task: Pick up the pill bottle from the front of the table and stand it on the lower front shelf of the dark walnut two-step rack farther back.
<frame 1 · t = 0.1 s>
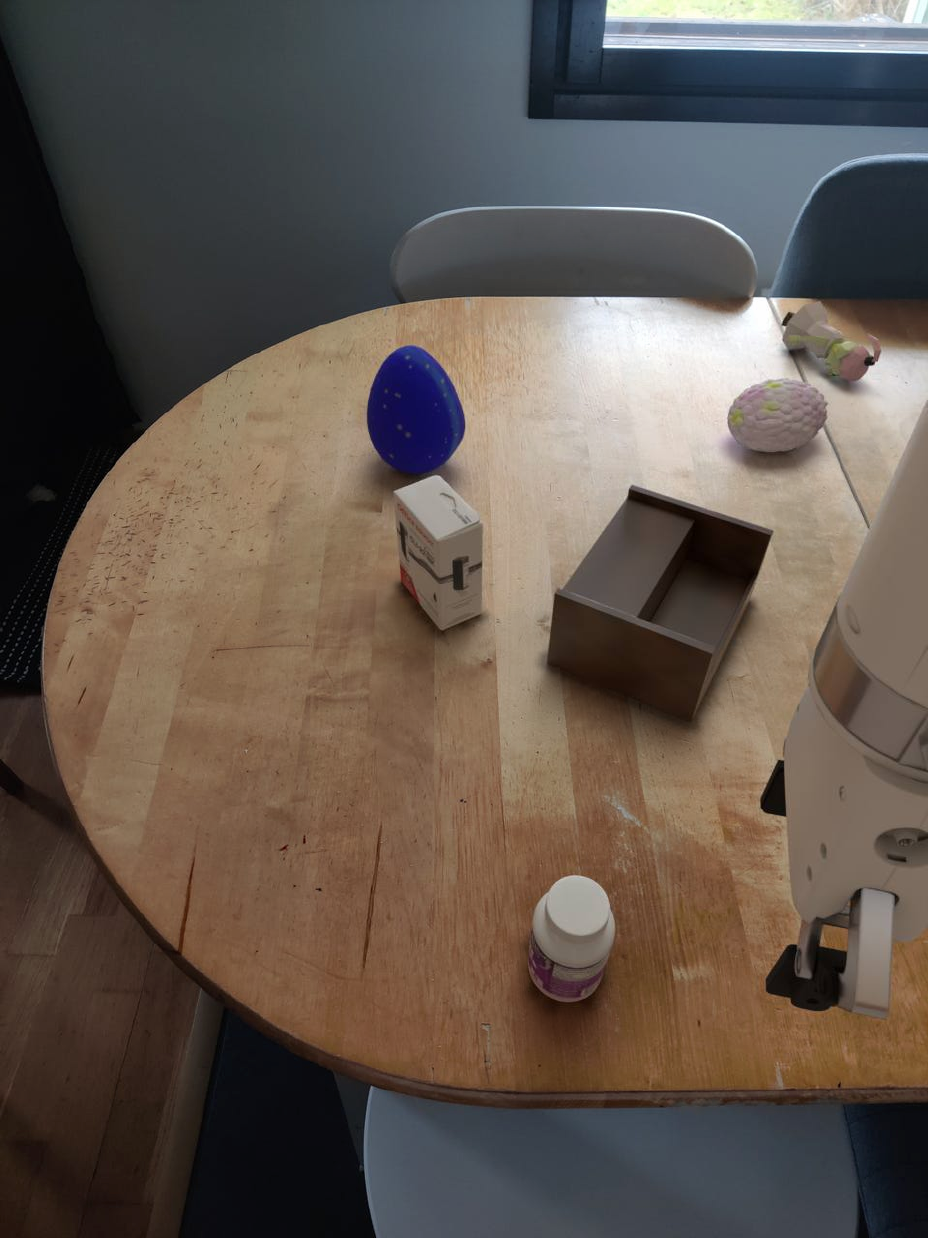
hand: (794, 896, 42), 20 cm above the table, tool pointing down, fingers open, 9 cm apart
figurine: (816, 366, 117), on the table
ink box: (440, 598, 86), on the table
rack: (652, 629, 82), on the table
decorative item: (768, 442, 105), on the table
pill bottle: (564, 967, 60), on the table
ornament: (415, 466, 101), on the table
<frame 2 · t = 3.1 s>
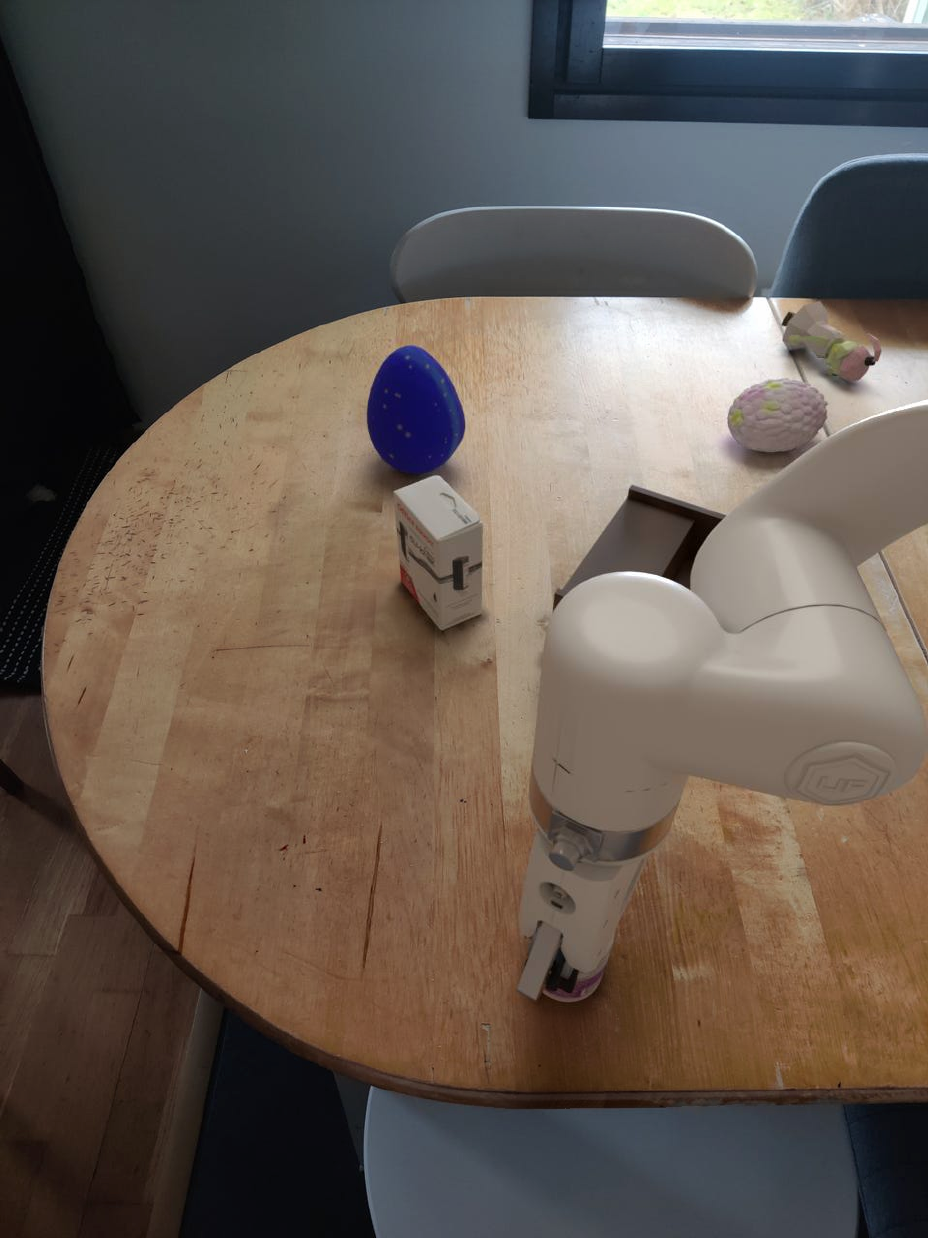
hand: (571, 936, 56), 5 cm above the table, tool pointing down, fingers closed on pill bottle, 5 cm apart
pill bottle: (564, 967, 60), on the table, touching gripper
everything else where it was.
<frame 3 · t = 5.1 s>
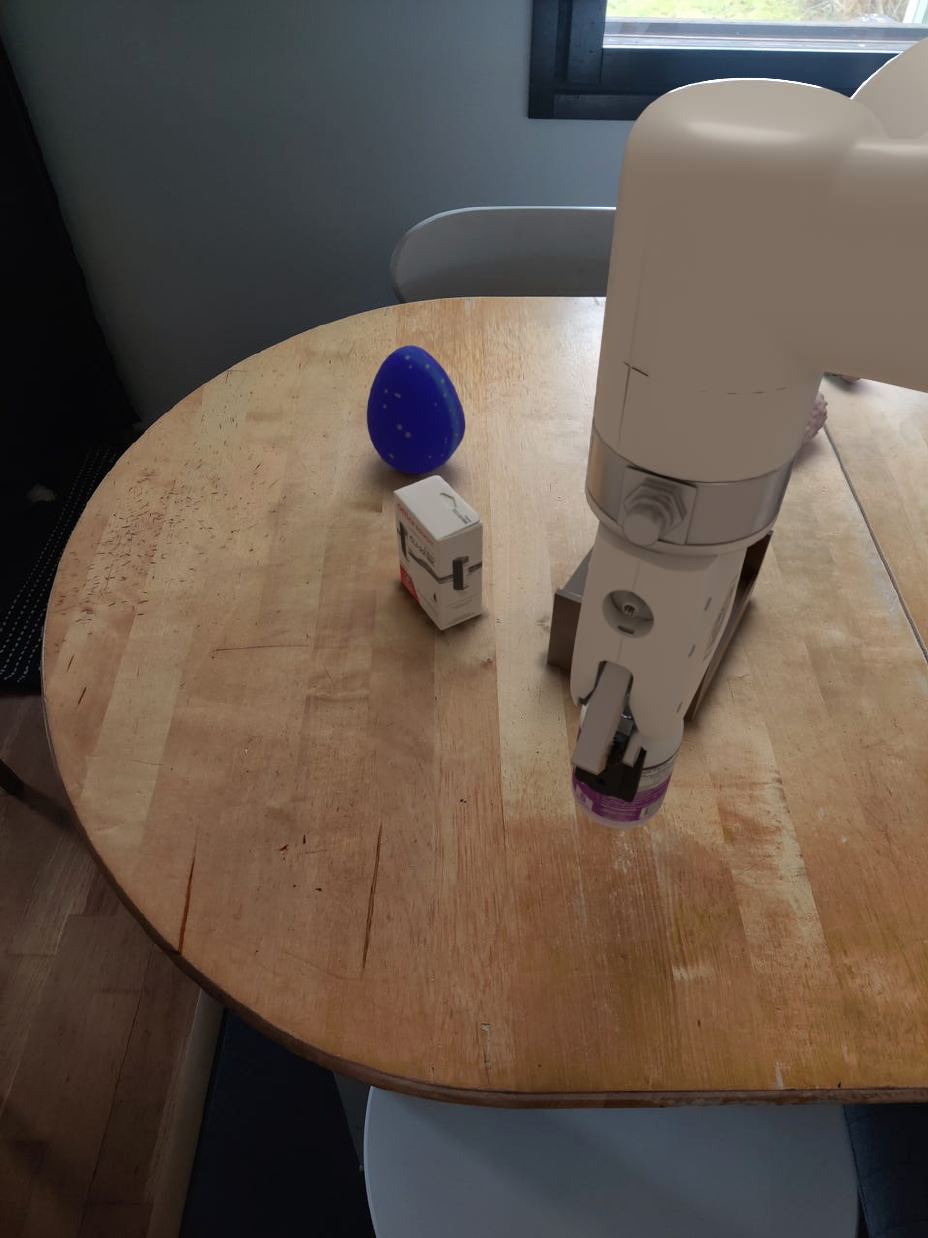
hand: (627, 741, 46), 23 cm above the table, tool pointing down, fingers closed on pill bottle, 5 cm apart
pill bottle: (615, 794, 49), point 18 cm above the table, touching gripper
everything else where it was.
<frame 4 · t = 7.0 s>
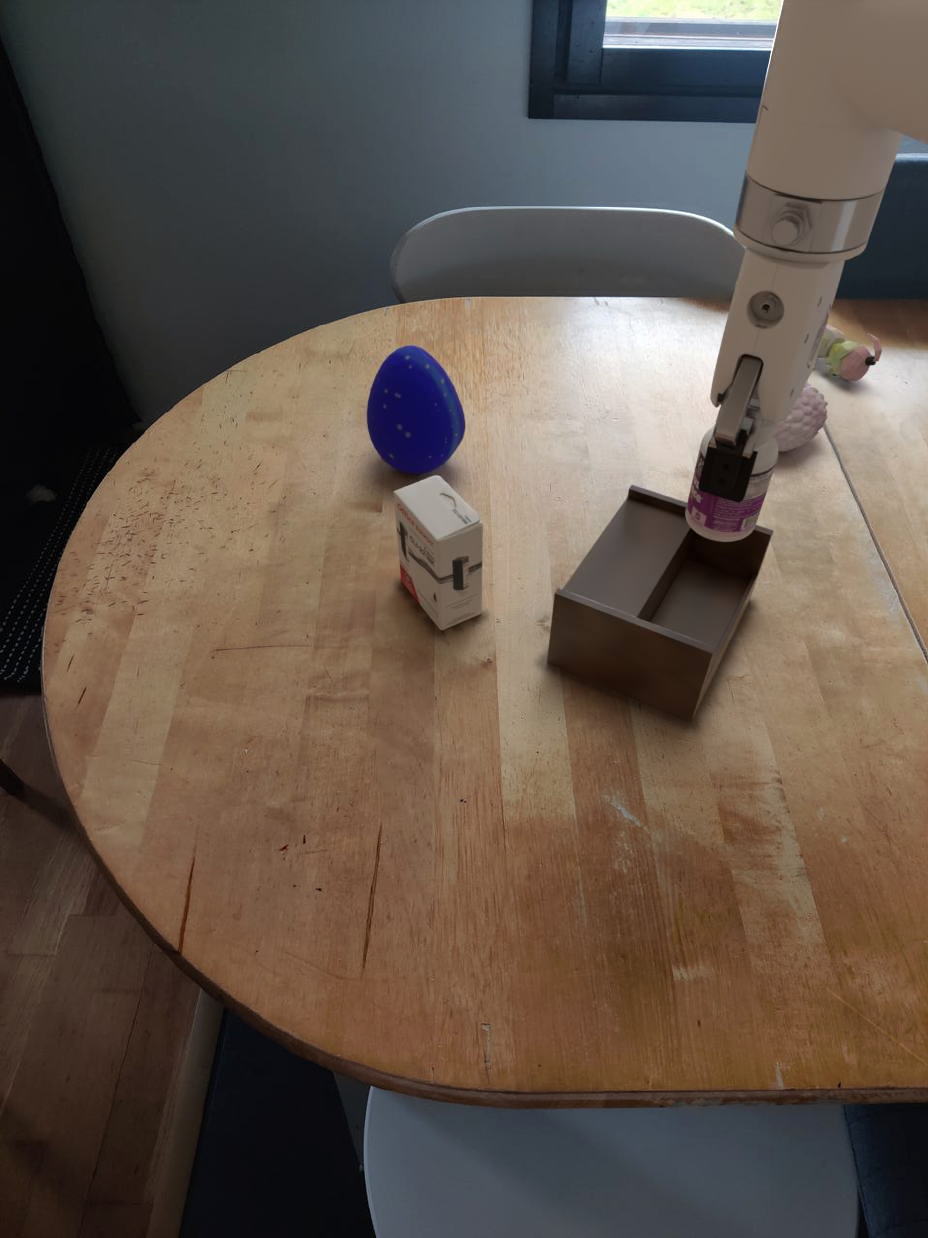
hand: (734, 469, 62), 23 cm above the table, tool pointing down, fingers closed on pill bottle, 5 cm apart
pill bottle: (718, 523, 65), point 18 cm above the table, touching gripper
everything else where it was.
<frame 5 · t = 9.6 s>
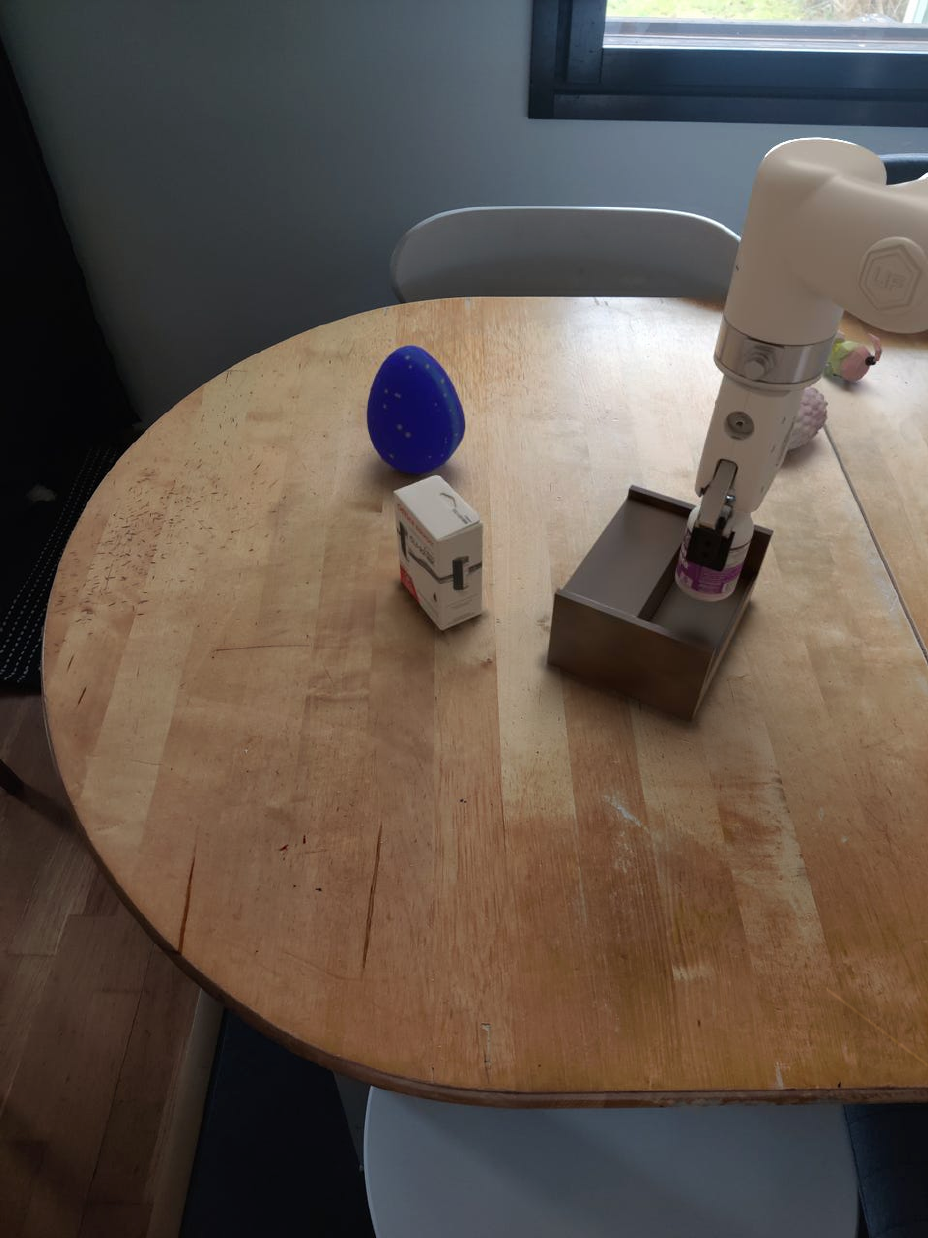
hand: (716, 541, 72), 13 cm above the table, tool pointing down, fingers closed on pill bottle, 5 cm apart
pill bottle: (703, 584, 76), point 8 cm above the table, touching gripper
everything else where it was.
when the fingers open (8 cm above the table, at t = 11.2 s): pill bottle stays where it is, resting on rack.
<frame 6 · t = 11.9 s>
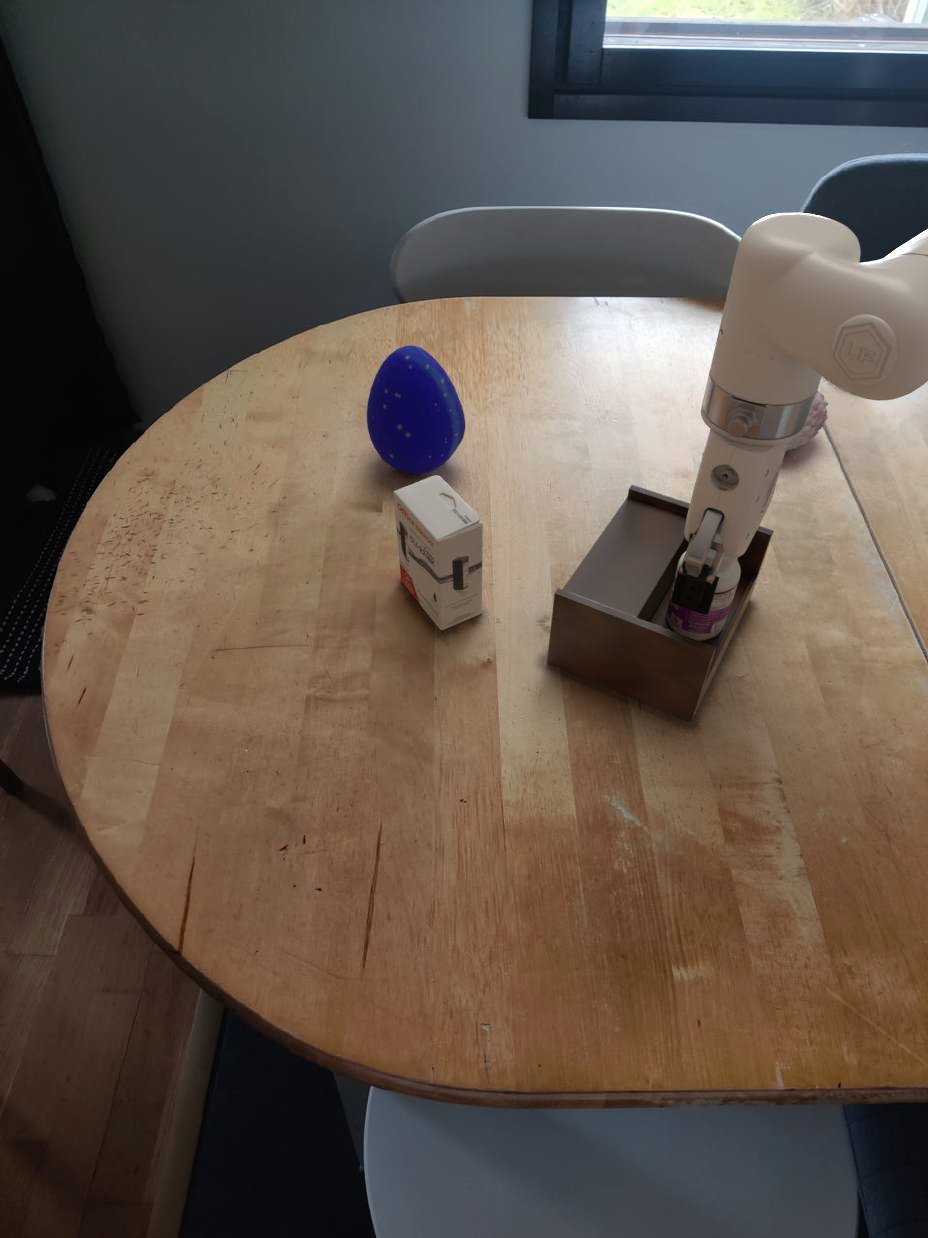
hand: (708, 572, 75), 9 cm above the table, tool pointing down, fingers open, 9 cm apart
pill bottle: (693, 623, 79), point 3 cm above the table, touching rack
everything else where it was.
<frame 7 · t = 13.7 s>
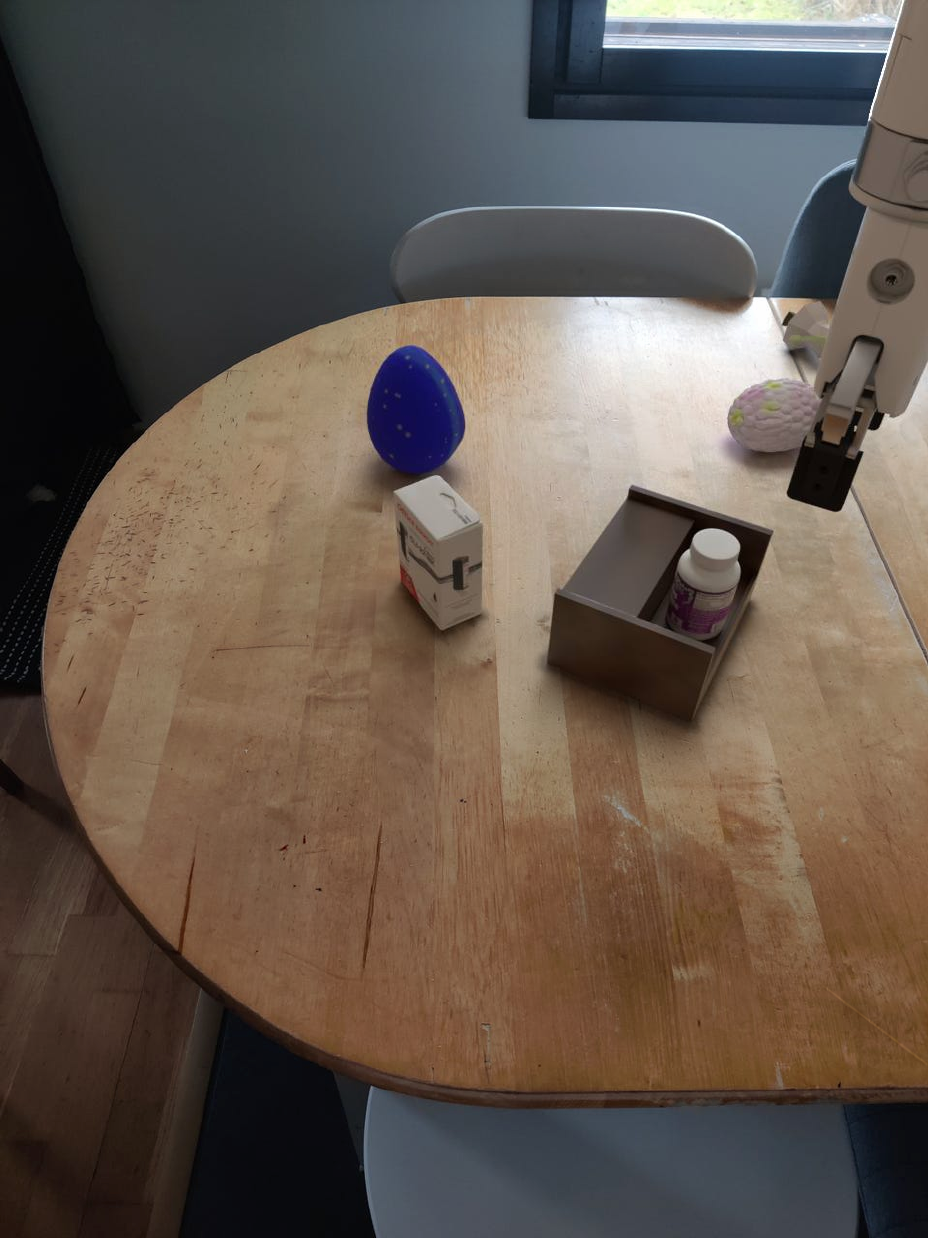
hand: (834, 460, 53), 29 cm above the table, tool pointing down, fingers open, 9 cm apart
nothing on the table moved.
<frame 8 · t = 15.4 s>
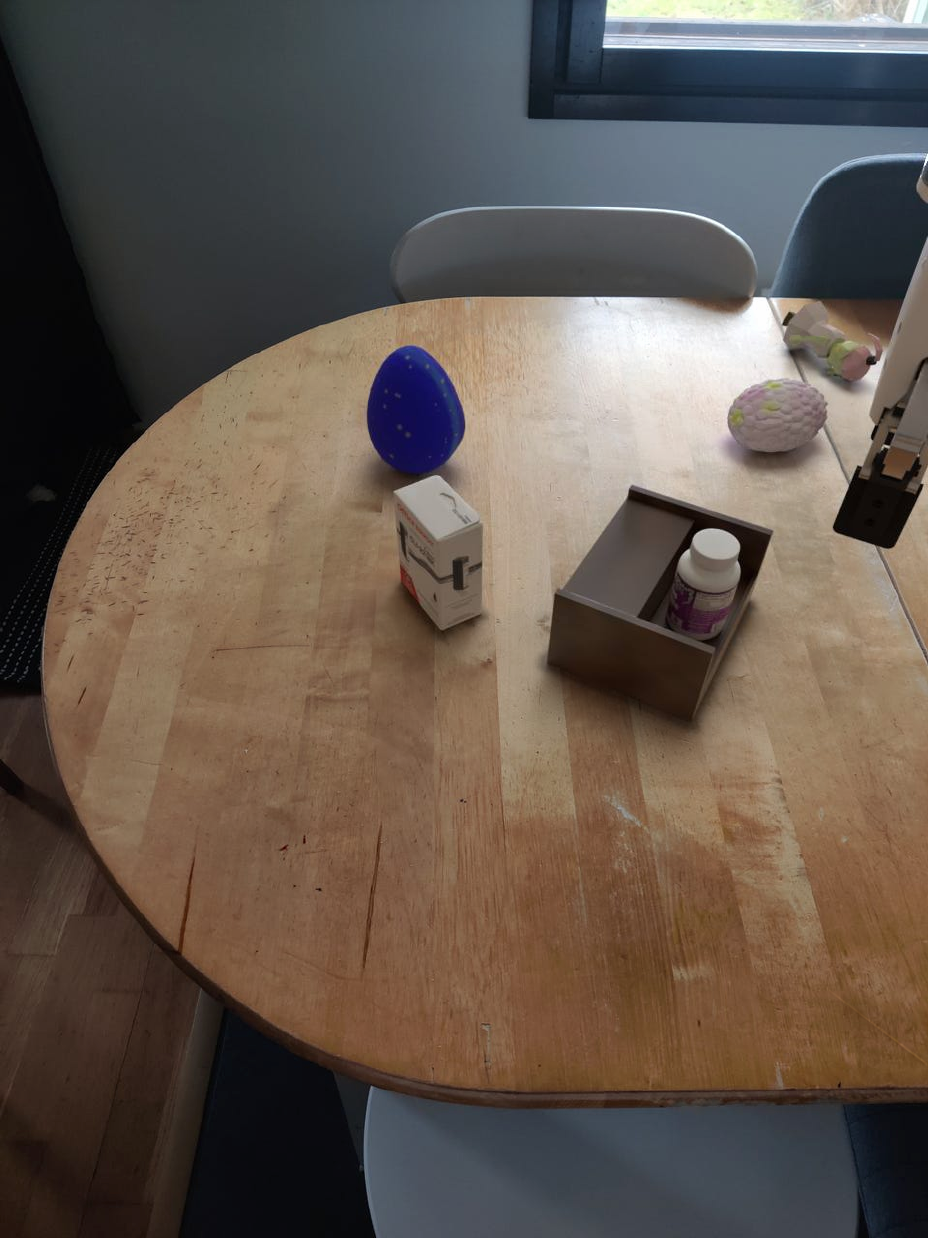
hand: (880, 489, 48), 30 cm above the table, tool pointing down, fingers open, 9 cm apart
nothing on the table moved.
at the end: pill bottle inside the target area on the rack (0.2 cm from its centre), point 2.8 cm above the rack's base; pill bottle tilted 0°; the gripper is holding nothing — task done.
